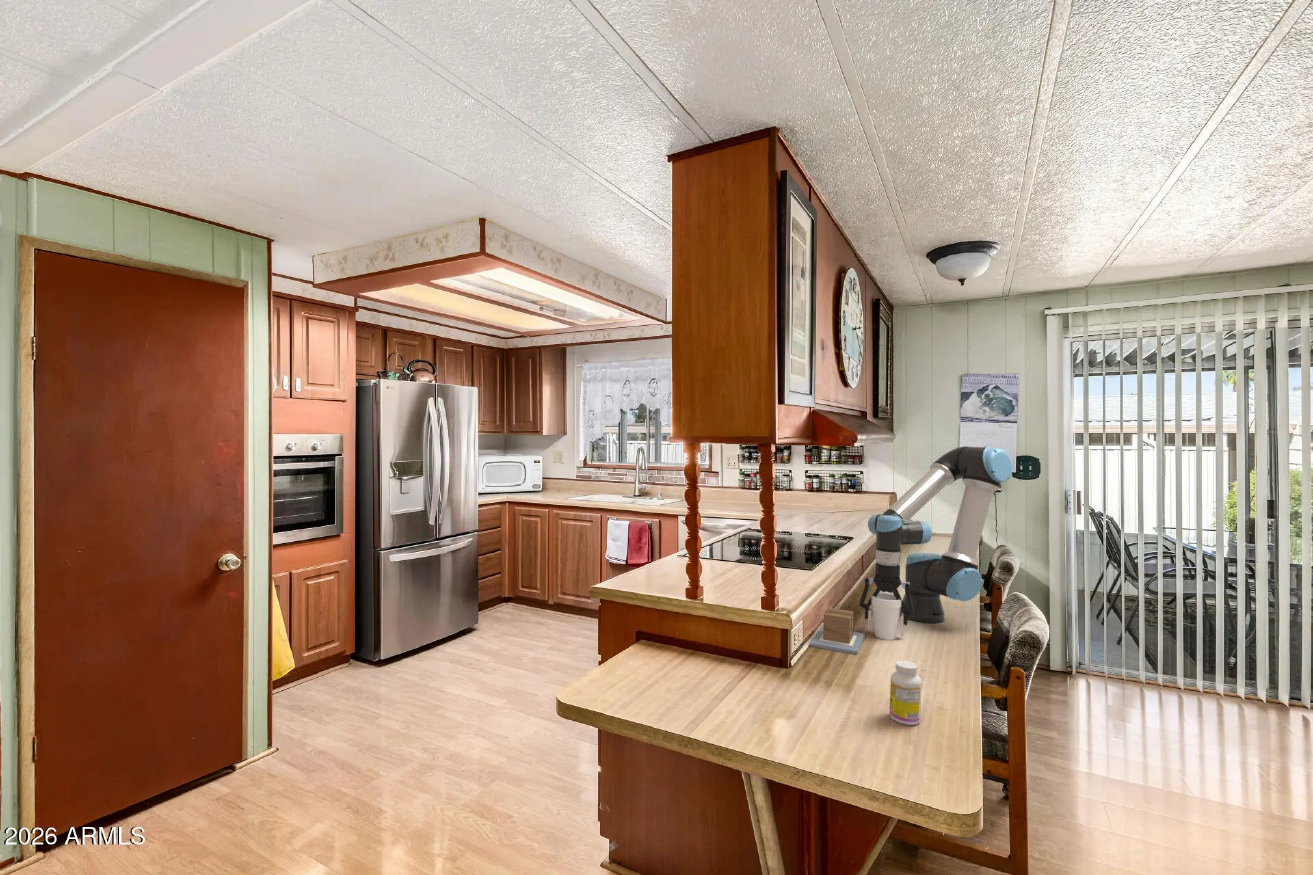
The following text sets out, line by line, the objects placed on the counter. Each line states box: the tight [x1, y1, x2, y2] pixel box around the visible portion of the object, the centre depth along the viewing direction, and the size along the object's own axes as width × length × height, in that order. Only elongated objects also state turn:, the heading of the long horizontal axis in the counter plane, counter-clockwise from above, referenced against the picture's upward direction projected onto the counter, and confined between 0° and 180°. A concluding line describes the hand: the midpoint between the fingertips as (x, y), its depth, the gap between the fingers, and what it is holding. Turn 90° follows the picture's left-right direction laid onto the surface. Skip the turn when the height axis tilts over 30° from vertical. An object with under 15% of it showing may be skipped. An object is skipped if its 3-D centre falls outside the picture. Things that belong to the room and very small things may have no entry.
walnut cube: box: [822, 607, 855, 644], centre depth 189 cm, size 8×8×8 cm
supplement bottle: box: [889, 660, 923, 726], centre depth 138 cm, size 7×7×13 cm
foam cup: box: [870, 592, 903, 641], centre depth 195 cm, size 10×9×13 cm
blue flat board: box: [809, 626, 866, 655], centre depth 189 cm, size 18×14×1 cm
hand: (885, 631), depth 195 cm, fingers closed on foam cup, 9 cm apart
